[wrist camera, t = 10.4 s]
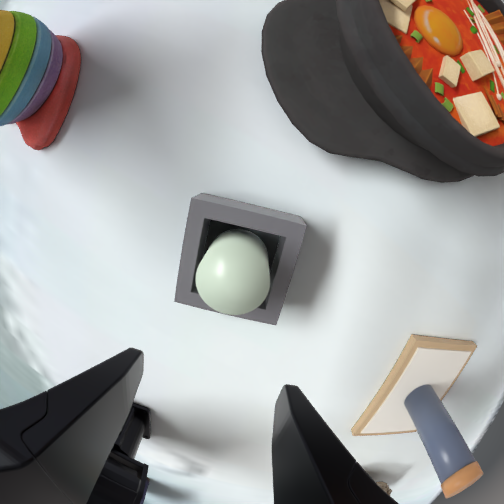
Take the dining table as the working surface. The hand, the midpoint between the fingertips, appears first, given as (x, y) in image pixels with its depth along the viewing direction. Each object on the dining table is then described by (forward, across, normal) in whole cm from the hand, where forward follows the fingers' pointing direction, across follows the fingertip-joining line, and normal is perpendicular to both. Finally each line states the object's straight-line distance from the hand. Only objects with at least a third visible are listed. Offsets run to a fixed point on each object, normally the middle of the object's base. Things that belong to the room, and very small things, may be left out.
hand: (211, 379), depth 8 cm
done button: (+11, 0, 0) cm, 11 cm away
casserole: (+13, -10, -18) cm, 25 cm away
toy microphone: (+12, -22, +11) cm, 27 cm away
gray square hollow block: (+13, 0, 0) cm, 13 cm away
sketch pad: (+13, -22, +11) cm, 28 cm away
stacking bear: (+13, +21, -11) cm, 27 cm away
